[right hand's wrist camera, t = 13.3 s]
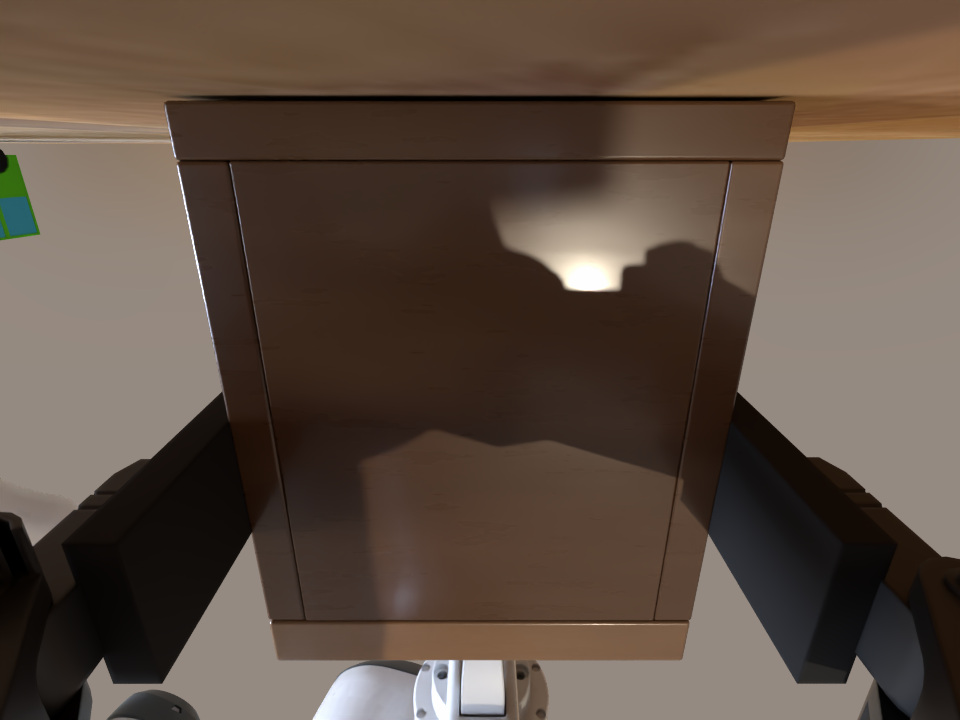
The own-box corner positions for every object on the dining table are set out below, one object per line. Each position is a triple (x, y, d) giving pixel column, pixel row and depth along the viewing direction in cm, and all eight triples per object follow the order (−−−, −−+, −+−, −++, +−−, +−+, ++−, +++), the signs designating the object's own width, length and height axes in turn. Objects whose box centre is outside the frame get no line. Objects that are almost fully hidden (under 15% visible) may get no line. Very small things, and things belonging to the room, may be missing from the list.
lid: (569, 350, 29) (560, 490, 32) (389, 350, 29) (399, 490, 32) (690, 622, 12) (644, 850, 16) (268, 622, 12) (314, 850, 16)
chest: (587, 131, 24) (571, 353, 28) (371, 131, 24) (387, 353, 28) (798, 100, 8) (691, 621, 12) (161, 100, 8) (268, 621, 12)
